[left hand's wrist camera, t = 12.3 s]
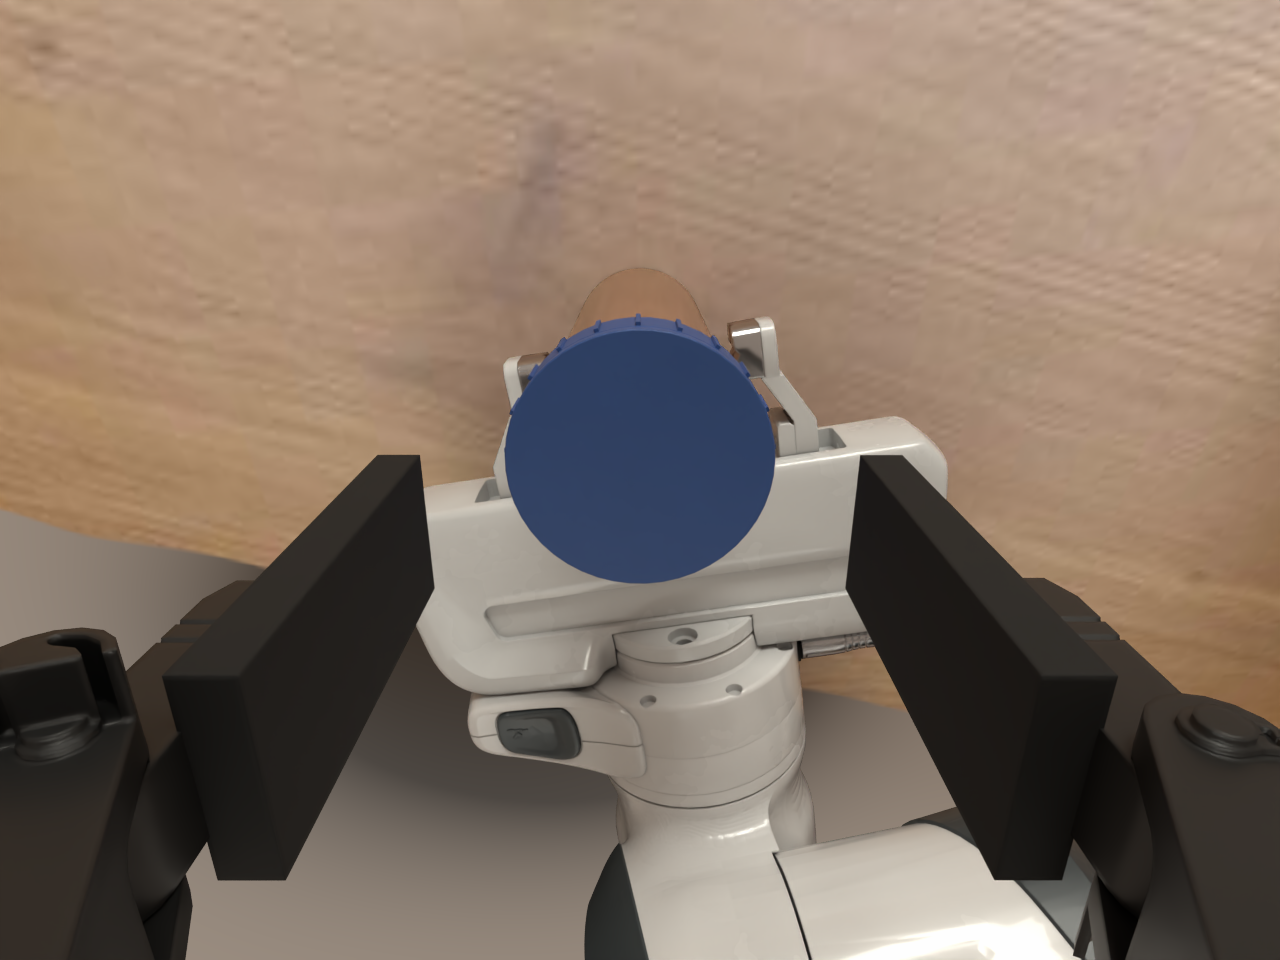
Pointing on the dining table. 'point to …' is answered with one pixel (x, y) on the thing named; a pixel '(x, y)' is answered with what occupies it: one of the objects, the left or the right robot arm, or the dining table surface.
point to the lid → (640, 451)
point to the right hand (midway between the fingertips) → (636, 339)
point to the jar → (639, 300)
